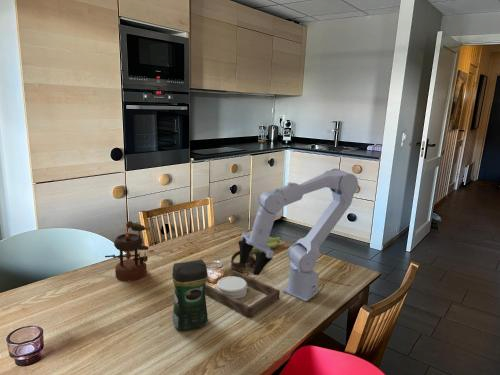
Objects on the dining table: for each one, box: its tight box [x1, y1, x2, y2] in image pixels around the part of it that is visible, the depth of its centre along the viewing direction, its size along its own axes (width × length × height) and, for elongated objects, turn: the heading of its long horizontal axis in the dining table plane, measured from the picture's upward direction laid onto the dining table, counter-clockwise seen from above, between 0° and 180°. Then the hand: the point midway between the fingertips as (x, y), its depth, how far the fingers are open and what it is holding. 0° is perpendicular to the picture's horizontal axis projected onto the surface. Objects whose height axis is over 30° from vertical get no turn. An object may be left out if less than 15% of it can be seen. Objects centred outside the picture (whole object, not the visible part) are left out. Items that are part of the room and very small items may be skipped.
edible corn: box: [250, 236, 282, 254], centre depth 156 cm, size 5×20×5 cm
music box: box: [104, 220, 151, 282], centre depth 126 cm, size 15×11×20 cm
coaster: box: [216, 275, 248, 300], centre depth 120 cm, size 10×10×4 cm
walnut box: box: [205, 269, 281, 319], centre depth 118 cm, size 20×15×3 cm
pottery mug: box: [230, 250, 256, 271], centre depth 138 cm, size 12×10×8 cm
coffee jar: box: [171, 258, 209, 332], centre depth 101 cm, size 10×8×19 cm
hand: (249, 268), depth 115 cm, fingers open, 7 cm apart
